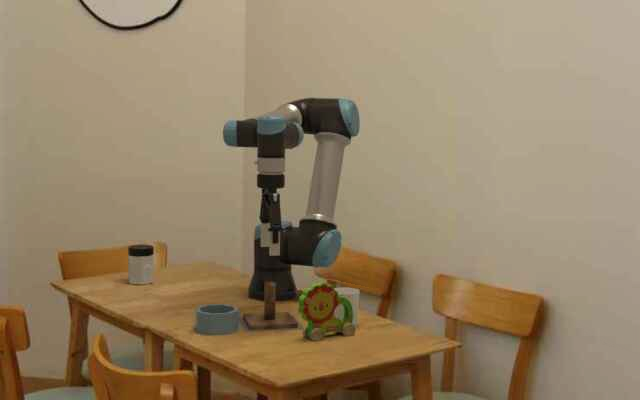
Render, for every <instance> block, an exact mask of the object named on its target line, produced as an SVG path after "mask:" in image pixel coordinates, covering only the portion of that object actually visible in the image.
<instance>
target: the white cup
mask: <svg viewBox="0 0 640 400" xmlns="http://www.w3.org/2000/svg"><path fill="white" fill-rule="evenodd" d="M334 289H335V291H337V292H338V295H339V296H341V297H344V298H346V299H347V300H349V302H350V303H351V305H352V309H353V322H352V324H353V325H354V326H355V328H357V327H358V316H359V307H360V305H359V303H360V293H361V292H360V290H359V289H358V288H355V287H354V288H353V287H336V288H335V287H334ZM334 316H335V317H336V318H338V319H340V320H343V318H344V306H343V304H339V305H338V306H337V307H336V309H335V311H334Z"/></svg>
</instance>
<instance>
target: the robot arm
mask: <svg viewBox="0 0 640 400" xmlns="http://www.w3.org/2000/svg"><path fill="white" fill-rule="evenodd" d="M360 124H361V123H360V113H359V109H358V106H357V104H356V103H355V101H354V100H353V99H349V98H341V97H339V98H332V97H331V98H327V97H326V98H322V97H317V98H316V97H306V98H300V99H297V100H293V101H290V102H287V103H283V104H280V105H279V106H278V107H277V108H276V109H275V110H271V111H269V112H266V113H263V114H259V115H257V116H254V117H251V118H247V119H244V120H242V119H241V120H240V119H239V120H238V119H235V120H233V119H231V120H227V122H225V123H224V125H223V129H222V139H223V141H224V143H225V145H226V146H228V147H231V148H232V147H234V148H253V149H254V148H257V149H256V150H257V151H256V152H257V154H256V155H257V156H256V157H257V158H256V159H257V160H254V161H255V162H254V164H255V165H257V167H256V169H257V170H256V171H257V173H258V174H257V175H256V187H257V188H258V189H261V201H260V211H259V217H258V219H259V220H260V224H257V225H256V226H255V228H254V233H253V235H254V237H253V274H252V277H251V279H250V282H249V286H248V290H247V296H248V297H249V298H251V299H252V300H256V301H264V287H265V282H275V302H282V301H288V300H292V299H296V298H297V296H298V290H297V285H296V281H295V279H294V276H293V272H292V265H293V266H302V267H303V266H304V267H313V268H330V267H331V266H333V265H334V264H335V263H336V261H337V259H338V257H339V255H340V251H341V248H342V234H341V232H340V230H338V225H337V224H336V222H335V221H334V217H335V216H334V215H335V210H336V205H337V197H338V193H339V186H340V185H339V184H340V178H341V172H342V166H343V161H344V155H345V148H346V147H348V146H349V145H350V144H351V142H352V137H353V138H355V137H357V136H358V135H359V132H360V126H361V125H360ZM305 135H313V139H314V141H316V142H317V144H316V150H315V151H316V152H315V156H314V163H313V170H312V175H311V179H310V181H311V182H310V187H309V192H308V193H309V194H308V199H307V205H306V210H305V211H306V212H305V215H304V216H303V217H302V218H299V223H298V226H294V225H293V223H292V221H290V220H282V211H281V194H280V193H278V192H277V190H278V189H279V190H280V189H283V188H285V185H286V184H285V182H286V177H285V174H284V173H285V171H286V150H292V149H295V148H297V147H299V146H300V145H301V144H302V142H303V141H304V137H305Z"/></svg>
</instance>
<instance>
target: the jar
mask: <svg viewBox="0 0 640 400" xmlns="http://www.w3.org/2000/svg"><path fill="white" fill-rule="evenodd" d="M127 249H128V250H127V251H128V252H127V253H128V256H127V257H128V258H127V259H128V284H129V283H135V284H147V283H152V282H154V283H155V271H154V269H155V267H154V266H155V265H154V264H155V262H154V261H155V260H154V254H155V253H154V252H155V251H154V250H155V249H154V246H153V245H151V244H133V245H132V244H131V245H129V246H128V247H127ZM147 285H148V284H147Z"/></svg>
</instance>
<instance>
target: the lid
mask: <svg viewBox="0 0 640 400" xmlns="http://www.w3.org/2000/svg"><path fill="white" fill-rule="evenodd" d="M263 305H264V306H263V307H264V312H261V313H260V312H258V313H256V312H255V313H243V314H242V317H243V319H244V321H245V323H246V324H247V326H248V328H249V329H250V330H265V329H286V328H298V323H297V322H296V321H295V320H294V318H293V317H292V316H291V315H292V314H290V312H289V311H284V312H283V311H282V312H281V311H280V312H276V301H275V282H265V287H264V302H263Z"/></svg>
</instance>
